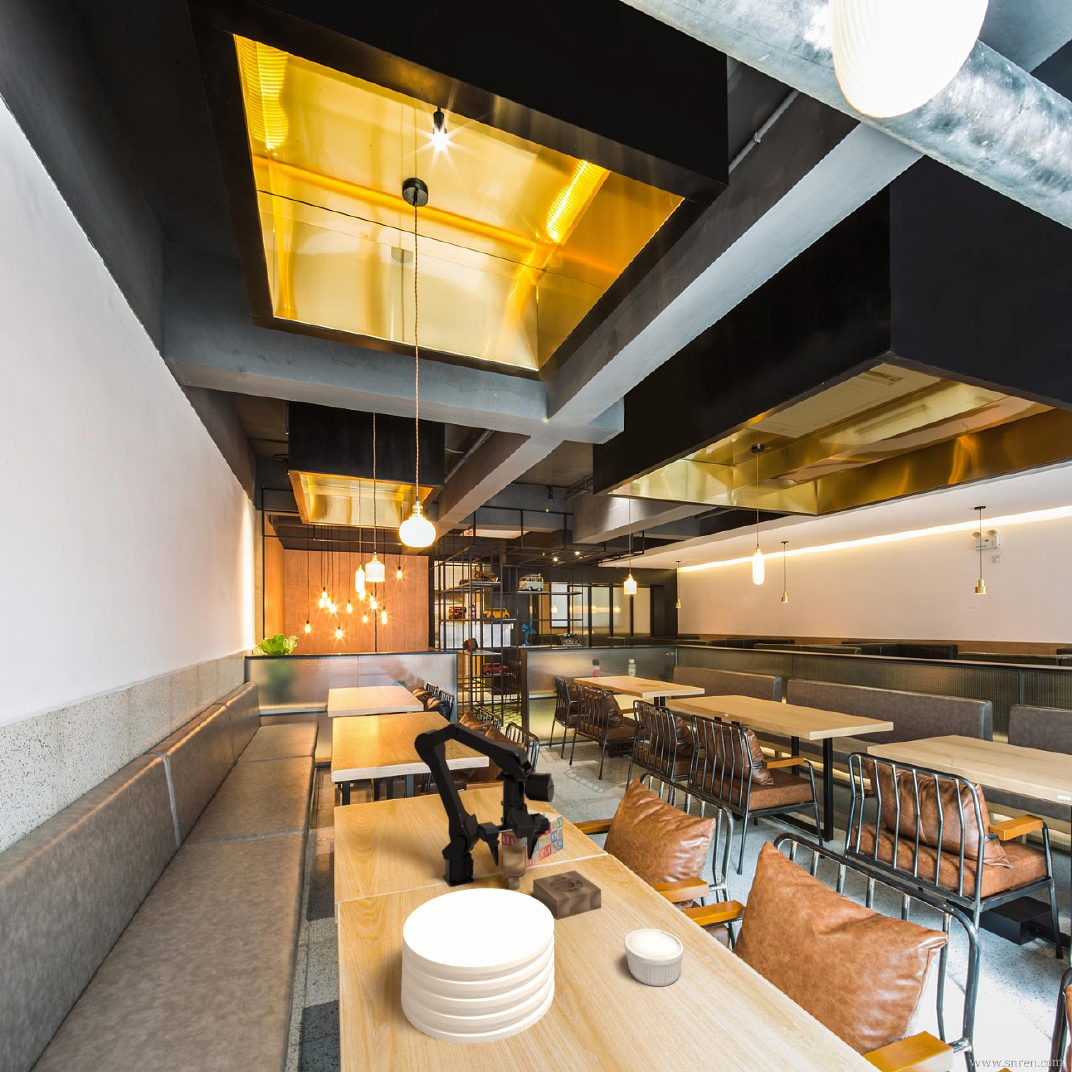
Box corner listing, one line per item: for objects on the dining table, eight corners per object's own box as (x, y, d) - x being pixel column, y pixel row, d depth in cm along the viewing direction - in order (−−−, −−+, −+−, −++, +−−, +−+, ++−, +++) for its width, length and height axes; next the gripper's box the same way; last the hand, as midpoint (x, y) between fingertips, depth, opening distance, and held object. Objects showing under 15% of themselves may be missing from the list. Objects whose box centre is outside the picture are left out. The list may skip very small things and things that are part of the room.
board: (557, 919, 131) (556, 900, 131) (533, 897, 141) (533, 879, 142) (601, 907, 136) (600, 889, 137) (575, 887, 147) (574, 870, 147)
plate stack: (478, 932, 126) (479, 876, 127) (584, 982, 108) (583, 916, 110) (369, 997, 104) (371, 928, 106) (478, 1072, 87) (479, 988, 89)
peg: (508, 894, 143) (508, 856, 144) (499, 885, 148) (499, 848, 149) (528, 889, 145) (528, 851, 147) (519, 881, 150) (519, 844, 152)
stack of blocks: (546, 843, 176) (546, 801, 178) (563, 848, 172) (563, 804, 174) (501, 867, 159) (501, 820, 161) (518, 873, 156) (518, 824, 157)
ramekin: (696, 976, 110) (695, 946, 111) (655, 999, 103) (654, 966, 104) (653, 950, 119) (652, 922, 120) (613, 968, 112) (612, 939, 113)
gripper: (492, 812, 139) (492, 882, 136) (560, 801, 147) (560, 867, 145) (475, 800, 148) (475, 865, 146) (540, 790, 157) (540, 851, 154)
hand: (513, 862), depth 148 cm, fingers open, 9 cm apart
